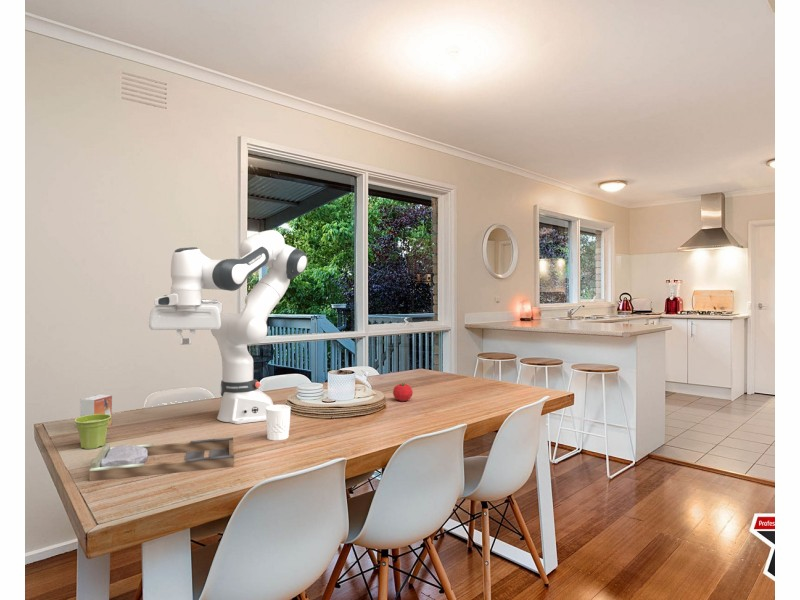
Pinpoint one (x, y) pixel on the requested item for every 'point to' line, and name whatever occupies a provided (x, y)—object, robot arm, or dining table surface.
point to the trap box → (189, 464)
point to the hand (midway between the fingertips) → (185, 344)
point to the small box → (96, 406)
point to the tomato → (402, 392)
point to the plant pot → (92, 430)
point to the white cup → (278, 422)
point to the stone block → (125, 456)
